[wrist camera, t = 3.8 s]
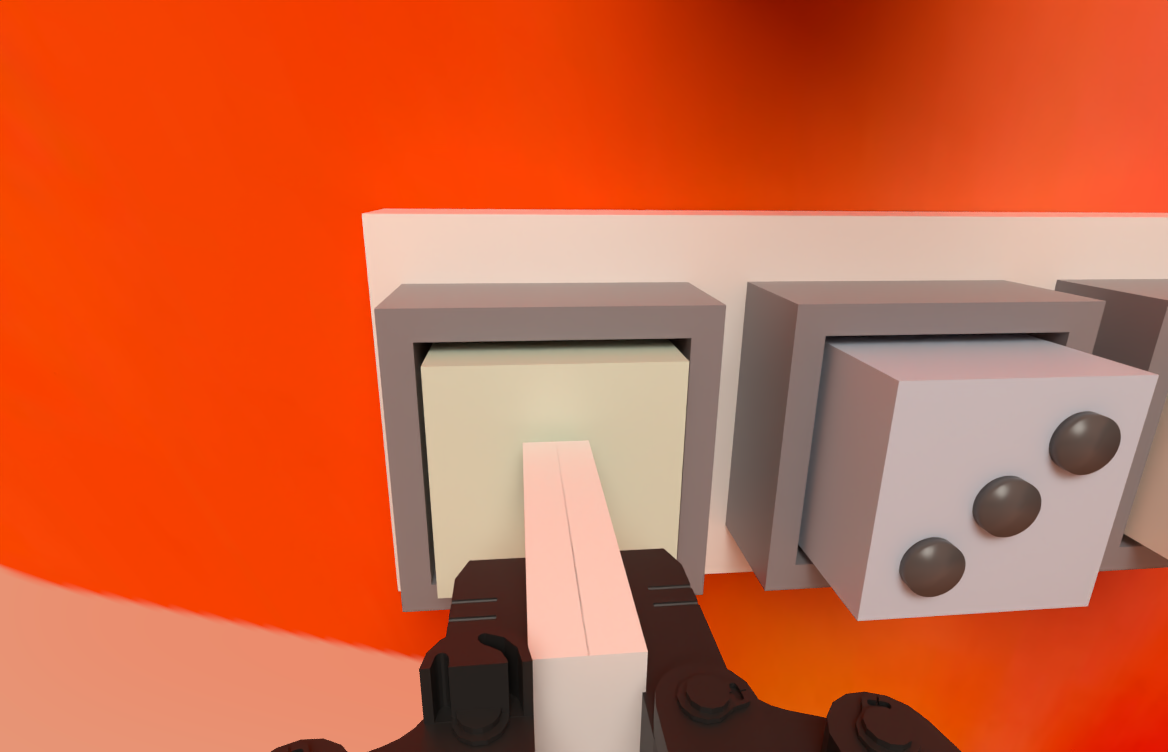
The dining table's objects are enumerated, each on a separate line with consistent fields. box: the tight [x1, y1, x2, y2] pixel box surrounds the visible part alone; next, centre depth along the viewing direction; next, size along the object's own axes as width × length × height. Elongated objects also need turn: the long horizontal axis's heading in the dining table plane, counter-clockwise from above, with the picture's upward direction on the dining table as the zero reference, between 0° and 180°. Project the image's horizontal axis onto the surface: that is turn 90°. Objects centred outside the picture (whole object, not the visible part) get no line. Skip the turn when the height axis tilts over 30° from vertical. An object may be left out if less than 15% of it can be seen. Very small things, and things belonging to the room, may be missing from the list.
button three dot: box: [798, 333, 1159, 621], centre depth 16 cm, size 6×6×4 cm
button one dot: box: [421, 339, 689, 598], centre depth 16 cm, size 6×6×4 cm
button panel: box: [362, 209, 1168, 612], centre depth 20 cm, size 30×12×6 cm, turn 90°
